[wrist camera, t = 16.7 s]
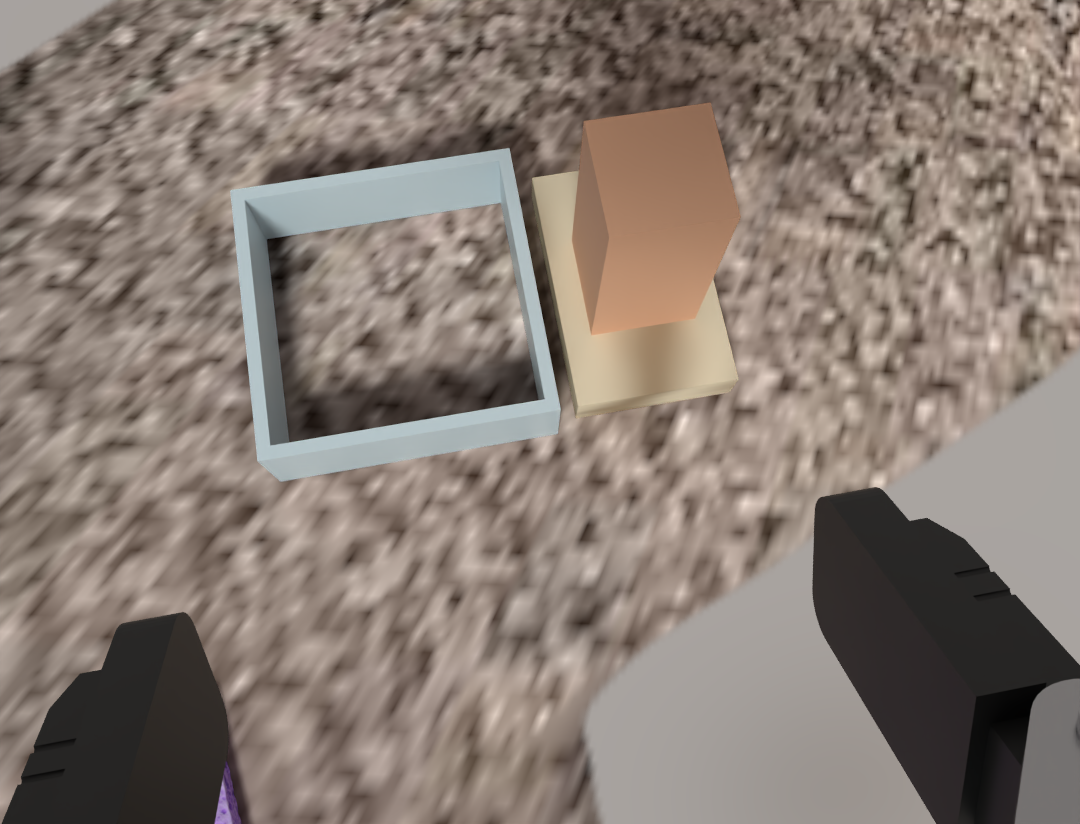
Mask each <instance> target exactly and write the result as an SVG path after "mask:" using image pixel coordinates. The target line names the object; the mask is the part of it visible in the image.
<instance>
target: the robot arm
mask: <svg viewBox="0 0 1080 824" xmlns="http://www.w3.org/2000/svg"><path fill="white" fill-rule="evenodd" d="M813 600H814V601H813V602H814V607H815V612H816V616H817V619H818V622H819V625H820V628H821V631H822V633H823V635H824V637H825V639H826V641H827V642H828V644H829V646H830V648H831V649H832V651H833V652H834V654H835V656H836V657H837V659H838V661H839V662H840V664H841V666H842V667H843V669H844V671H845V672H846V674H847V676H848V677H849V679H850V681H851V682H852V684H853V686H854V687H855V689H856V691H857V692H858V694H859V696H860V697H861V699H862V701H863V702H864V704H865V706H866V707H867V709H868V711H869V712H870V714H871V716H872V717H873V719H874V721H875V722H876V724H877V726H878V727H879V729H880V731H881V732H882V734H883V735H884V737H885V739H886V741H887V742H888V744H889V746H890V747H891V749H892V751H893V752H894V754H895V756H896V757H897V759H898V761H899V762H900V764H901V766H902V767H903V769H904V771H905V772H906V774H907V776H908V777H909V779H910V781H911V782H912V784H913V785H914V787H915V789H916V791H917V792H918V794H919V796H920V797H921V799H922V801H923V802H924V804H925V805H926V807H927V809H928V810H929V812H930V814H931V816H932V817H933V819H934V821H935V822H936V824H1080V665H1079V664H1078V663H1077V662H1076V661H1075V660H1074V658H1073V657H1072V656H1071V655H1070V654H1069V653H1068V652H1067V651H1066V650H1065V649H1064V648H1063V646H1062V645H1061V644H1060V643H1059V642H1058V641H1057V640H1056V639H1055V638H1054V637H1053V636H1052V634H1051V633H1050V632H1049V631H1048V630H1047V629H1046V628H1045V627H1044V626H1043V625H1042V623H1041V622H1040V621H1039V620H1038V619H1037V618H1036V617H1035V616H1034V615H1033V614H1032V613H1031V612H1030V610H1029V609H1028V608H1027V607H1026V606H1025V605H1024V604H1023V603H1022V602H1021V600H1020V599H1019V598H1018V597H1017V596H1016V595H1011V593H1010V588H1008V586H1007V585H1006V584H1005V583H1004V582H1003V581H1002V580H1001V579H1000V577H999V576H998V575H997V574H996V573H995V572H990V569H989V565H988V564H987V563H986V562H985V561H984V560H983V559H982V558H981V557H980V556H979V555H978V553H977V552H975V550H974V549H973V548H972V547H971V546H970V545H969V544H968V542H967V541H966V540H965V539H963V538H962V537H960V536H958V535H956V534H955V533H953V532H951V531H949V530H948V529H946V528H944V527H942V526H940V525H938V524H937V523H935V522H933V521H931V520H930V519H928V518H924V519H919V520H914V521H909V520H908V519H907V518H906V517H905V515H904V514H903V513H902V512H901V511H900V510H899V508H898V507H897V506H896V505H895V504H894V503H893V501H892V500H891V499H890V498H889V497H888V495H887V494H886V493H885V492H884V491H883V490H881V489H880V488H877V487H874V488H868V489H863V490H857V491H852V492H847V493H841V494H836V495H830V496H825V497H821V498H819V499H818V501H817V503H816V507H815V519H814V555H813ZM227 753H228V722H227V715H226V710H225V706H224V702H223V699H222V697H221V694H220V691H219V689H218V686H217V684H216V681H215V678H214V676H213V673H212V670H211V668H210V665H209V663H208V660H207V657H206V655H205V652H204V649H203V647H202V644H201V642H200V639H199V636H198V634H197V631H196V629H195V626H194V624H193V622H192V620H191V618H190V617H189V616H188V614H186V613H184V612H182V613H176V614H171V615H165V616H160V617H154V618H149V619H143V620H138V621H132V622H127V623H123V624H121V625H120V626H119V627H118V628H117V630H116V632H115V634H114V637H113V640H112V643H111V645H110V648H109V651H108V653H107V656H106V659H105V662H104V664H103V667H102V670H98V671H92V672H87V673H82V674H79V676H78V677H77V678H76V679H75V680H74V681H73V682H72V684H71V685H70V686H69V687H68V688H67V689H66V690H65V692H64V693H63V694H62V695H61V696H60V697H59V698H58V700H57V701H56V702H55V703H54V704H53V705H52V706H51V708H50V709H49V711H48V713H47V715H46V718H45V720H44V723H43V725H42V728H41V730H40V732H39V735H38V737H37V740H36V742H35V744H34V753H32V754H30V756H29V759H28V761H27V764H26V766H25V769H24V771H23V773H22V776H21V779H22V783H21V785H17V788H16V790H15V793H14V795H13V798H12V800H11V802H10V805H9V807H8V810H7V812H6V814H5V817H4V819H3V822H2V824H215V819H216V813H217V808H218V802H219V797H220V792H221V786H222V781H223V775H224V770H225V764H226V759H227Z"/></svg>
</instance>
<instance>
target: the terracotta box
mask: <svg viewBox="0 0 1080 824" xmlns="http://www.w3.org/2000/svg"><path fill="white" fill-rule="evenodd" d="M740 217H741V216H740V212H739V209H738V205H737V201H736V197H735V193H734V190H733V186H732V182H731V178H730V174H729V171H728V167H727V163H726V159H725V155H724V152H723V148H722V144H721V140H720V136H719V133H718V129H717V125H716V121H715V117H714V114H713V110H712V106H711V102H710V103H703V104H697V105H690V106H683V107H676V108H669V109H662V110H656V111H649V112H642V113H635V114H628V115H621V116H614V117H608V118H601V119H594V120H587V121H584V125H583V135H582V145H581V154H580V164H579V174H578V184H577V193H576V203H575V213H574V223H573V233H572V244H573V249H574V254H575V259H576V264H577V268H578V273H579V278H580V283H581V288H582V293H583V298H584V303H585V307H586V312H587V317H588V322H589V327H590V332H591V335H597V334H603V333H609V332H616V331H622V330H628V329H634V328H640V327H647V326H653V325H659V324H665V323H672V322H678V321H684V320H690V319H695V317H696V315H697V313H698V311H699V309H700V306H701V304H702V302H703V300H704V297H705V295H706V293H707V291H708V289H709V286H710V284H711V282H712V280H713V277H714V275H715V273H716V271H717V269H718V266H719V264H720V262H721V260H722V257H723V255H724V253H725V251H726V248H727V246H728V244H729V242H730V240H731V237H732V235H733V233H734V231H735V228H736V226H737V224H738V222H739V220H740Z"/></svg>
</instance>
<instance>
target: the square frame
mask: <svg viewBox="0 0 1080 824" xmlns="http://www.w3.org/2000/svg"><path fill="white" fill-rule="evenodd" d="M230 192H231V202H232V212H233V222H234V232H235V242H236V252H237V261H238V271H239V281H240V291H241V301H242V311H243V321H244V331H245V341H246V351H247V361H248V370H249V380H250V390H251V400H252V410H253V420H254V430H255V440H256V450H257V460H258V462H259V463H260V464H261V465H262V466H263V467H265V468H266V469H267V470H268V471H269V472H270V473H271V474H273V475H274V476H275V477H276V478H277V479H278V480H279V481H287V480H293V479H299V478H305V477H310V476H316V475H322V474H328V473H334V472H339V471H345V470H351V469H357V468H363V467H369V466H374V465H380V464H386V463H392V462H398V461H403V460H409V459H415V458H421V457H427V456H433V455H438V454H444V453H450V452H456V451H462V450H467V449H473V448H479V447H485V446H491V445H496V444H502V443H508V442H514V441H520V440H526V439H531V438H537V437H543V436H549V435H555V434H558V428H559V420H560V412H561V408H560V403H559V398H558V393H557V388H556V383H555V378H554V373H553V368H552V363H551V358H550V352H549V347H548V342H547V337H546V332H545V327H544V322H543V317H542V312H541V307H540V302H539V296H538V291H537V286H536V281H535V276H534V271H533V266H532V261H531V256H530V251H529V246H528V240H527V235H526V230H525V225H524V220H523V215H522V210H521V205H520V200H519V195H518V190H517V184H516V179H515V174H514V169H513V164H512V159H511V154H510V149H509V148H506V149H500V150H493V151H486V152H480V153H473V154H467V155H460V156H453V157H447V158H440V159H434V160H427V161H420V162H414V163H407V164H401V165H394V166H387V167H381V168H374V169H368V170H361V171H354V172H348V173H341V174H335V175H328V176H321V177H315V178H308V179H302V180H295V181H288V182H282V183H275V184H269V185H262V186H255V187H249V188H242V189H236V190H230ZM497 203H501V205H502V210H503V216H504V221H505V226H506V232H507V237H508V242H509V247H510V253H511V258H512V263H513V268H514V274H515V279H516V284H517V289H518V295H519V300H520V305H521V310H522V316H523V321H524V326H525V331H526V337H527V342H528V347H529V353H530V358H531V363H532V368H533V374H534V379H535V384H536V389H537V395H538V400H537V401H531V402H525V403H519V404H514V405H508V406H502V407H496V408H490V409H484V410H478V411H472V412H466V413H460V414H454V415H449V416H443V417H437V418H431V419H425V420H419V421H413V422H407V423H401V424H395V425H390V426H384V427H378V428H372V429H366V430H360V431H354V432H348V433H342V434H336V435H331V436H325V437H319V438H313V439H307V440H301V441H295V442H289V435H288V426H287V417H286V408H285V399H284V390H283V381H282V372H281V363H280V354H279V345H278V336H277V327H276V318H275V309H274V300H273V291H272V282H271V273H270V264H269V255H268V246H267V239H271V238H278V237H284V236H290V235H297V234H303V233H310V232H316V231H323V230H329V229H336V228H342V227H348V226H355V225H361V224H368V223H374V222H381V221H387V220H394V219H400V218H406V217H413V216H419V215H426V214H432V213H439V212H445V211H452V210H458V209H464V208H471V207H477V206H484V205H490V204H497Z"/></svg>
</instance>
